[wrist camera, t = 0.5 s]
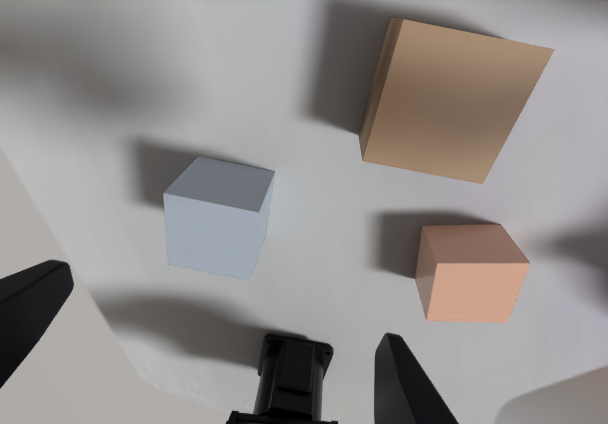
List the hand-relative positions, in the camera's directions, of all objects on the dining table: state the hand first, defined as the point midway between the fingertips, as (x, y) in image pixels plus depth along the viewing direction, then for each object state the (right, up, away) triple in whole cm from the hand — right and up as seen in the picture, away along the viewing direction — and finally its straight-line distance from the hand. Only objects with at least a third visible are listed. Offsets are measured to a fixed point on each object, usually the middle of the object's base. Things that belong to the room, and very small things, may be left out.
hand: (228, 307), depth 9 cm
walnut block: (+9, +9, +8) cm, 15 cm away
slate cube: (-3, +4, +13) cm, 14 cm away
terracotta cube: (+13, 0, +14) cm, 19 cm away
